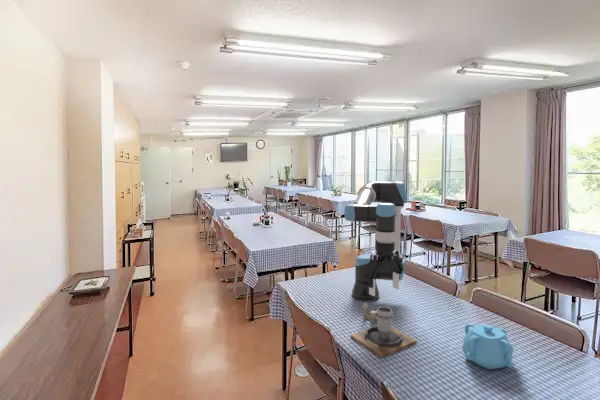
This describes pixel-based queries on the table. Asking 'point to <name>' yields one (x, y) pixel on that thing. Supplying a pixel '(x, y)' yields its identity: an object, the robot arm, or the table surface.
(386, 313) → the cup
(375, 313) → the bone
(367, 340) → the ring holder
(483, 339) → the decorative pot
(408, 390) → the table surface
